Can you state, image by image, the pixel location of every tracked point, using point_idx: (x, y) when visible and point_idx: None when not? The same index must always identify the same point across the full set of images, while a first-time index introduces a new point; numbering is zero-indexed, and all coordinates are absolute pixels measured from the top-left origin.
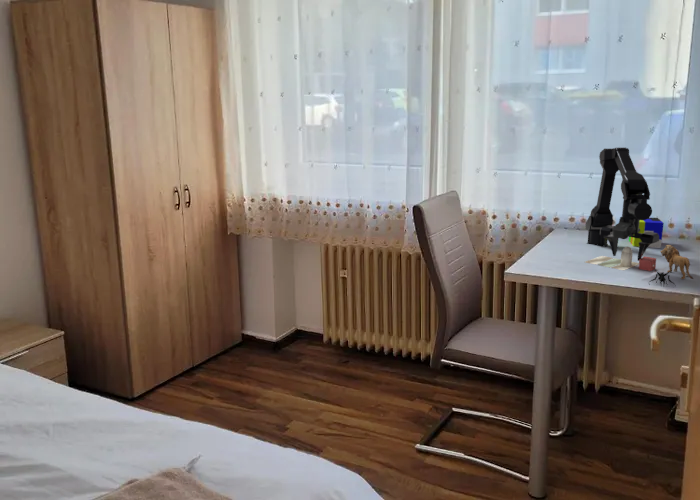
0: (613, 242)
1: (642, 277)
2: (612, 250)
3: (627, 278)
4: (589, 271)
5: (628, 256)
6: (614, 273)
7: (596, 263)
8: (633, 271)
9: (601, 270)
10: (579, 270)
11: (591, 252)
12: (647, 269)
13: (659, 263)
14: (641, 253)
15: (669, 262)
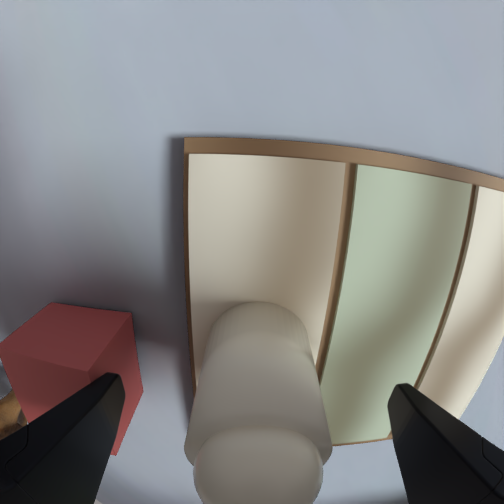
0: (486, 495)
1: (29, 142)
2: (443, 414)
3: (97, 15)
4: (439, 7)
5: (211, 390)
6: (251, 60)
7: (484, 225)
8: (150, 266)
9: (394, 87)
10: (488, 9)
11: (484, 435)
12: (57, 313)
13: (165, 483)
14: (40, 420)
15: (6, 418)
